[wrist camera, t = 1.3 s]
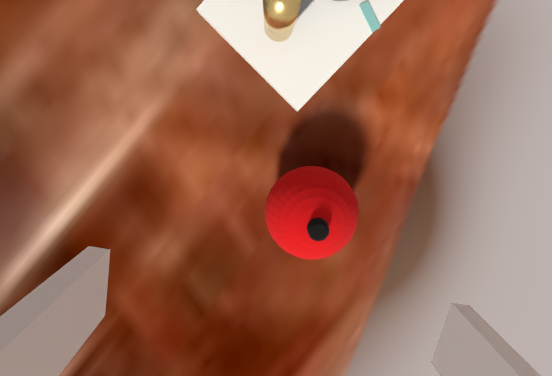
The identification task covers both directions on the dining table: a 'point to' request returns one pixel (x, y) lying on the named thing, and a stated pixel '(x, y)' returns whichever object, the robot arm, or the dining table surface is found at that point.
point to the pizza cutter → (283, 17)
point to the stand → (298, 40)
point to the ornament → (311, 212)
